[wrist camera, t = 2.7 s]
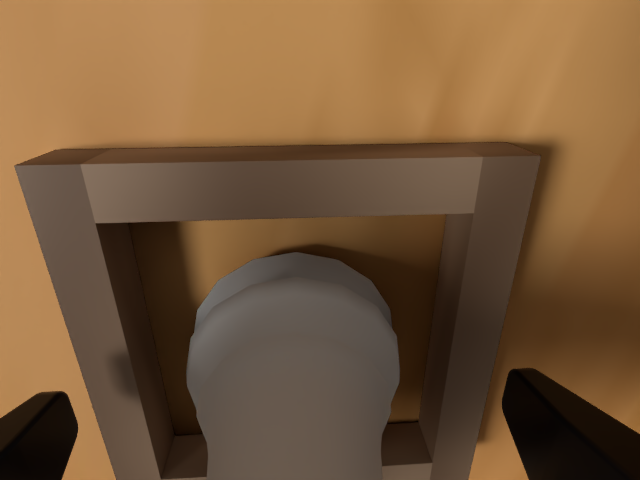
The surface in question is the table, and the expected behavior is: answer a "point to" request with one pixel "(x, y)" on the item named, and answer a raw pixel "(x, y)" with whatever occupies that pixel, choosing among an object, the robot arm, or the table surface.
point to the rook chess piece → (293, 371)
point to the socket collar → (272, 203)
